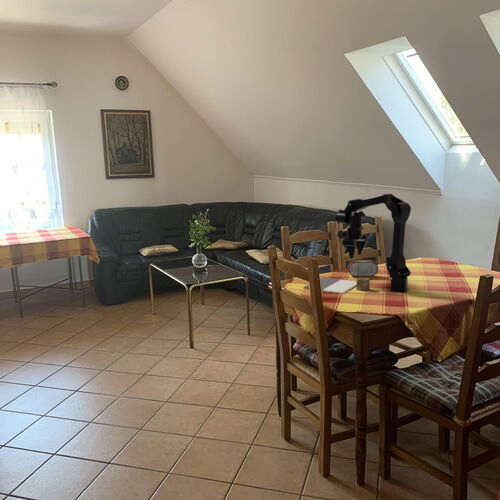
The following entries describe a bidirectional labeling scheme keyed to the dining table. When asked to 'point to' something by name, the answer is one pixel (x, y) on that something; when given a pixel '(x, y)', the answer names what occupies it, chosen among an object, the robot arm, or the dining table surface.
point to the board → (335, 285)
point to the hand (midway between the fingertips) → (355, 256)
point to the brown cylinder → (363, 284)
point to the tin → (363, 268)
